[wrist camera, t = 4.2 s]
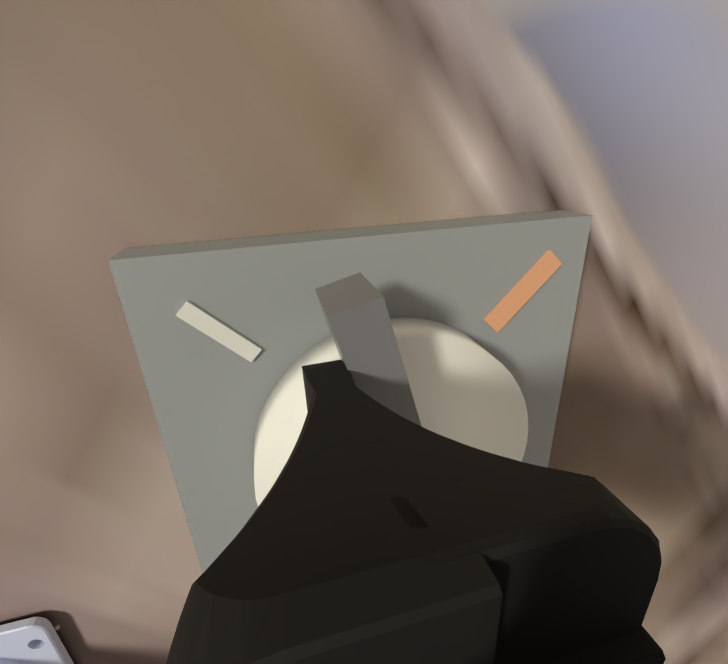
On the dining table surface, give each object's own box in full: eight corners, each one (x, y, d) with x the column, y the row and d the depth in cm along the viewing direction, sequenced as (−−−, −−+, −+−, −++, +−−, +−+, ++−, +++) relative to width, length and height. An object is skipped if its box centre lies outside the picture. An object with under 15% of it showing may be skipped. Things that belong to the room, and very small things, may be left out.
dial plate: (517, 506, 20) (538, 533, 18) (219, 582, 17) (216, 622, 16) (560, 210, 14) (595, 215, 13) (125, 248, 11) (106, 261, 10)
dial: (516, 476, 17) (578, 550, 13) (309, 568, 16) (324, 670, 13) (472, 212, 12) (552, 232, 9) (170, 323, 11) (136, 390, 8)
